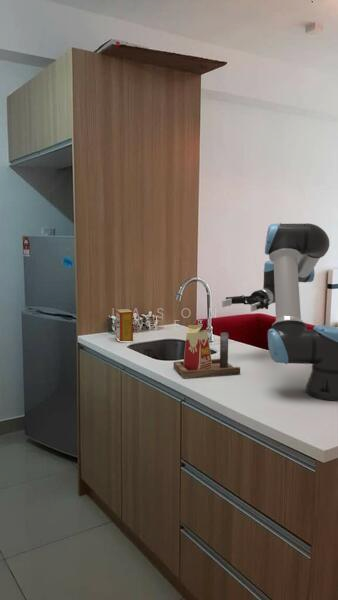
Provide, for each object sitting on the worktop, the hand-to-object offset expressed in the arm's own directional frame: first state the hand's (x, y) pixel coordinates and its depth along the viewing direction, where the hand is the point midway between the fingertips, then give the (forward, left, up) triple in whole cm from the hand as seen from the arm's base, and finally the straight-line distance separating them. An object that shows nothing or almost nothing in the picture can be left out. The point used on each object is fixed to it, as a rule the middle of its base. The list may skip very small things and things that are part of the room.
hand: (236, 306), depth 199 cm
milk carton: (-5, +18, -26) cm, 32 cm away
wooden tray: (-5, +15, -25) cm, 30 cm away
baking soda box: (+58, +37, -26) cm, 74 cm away
